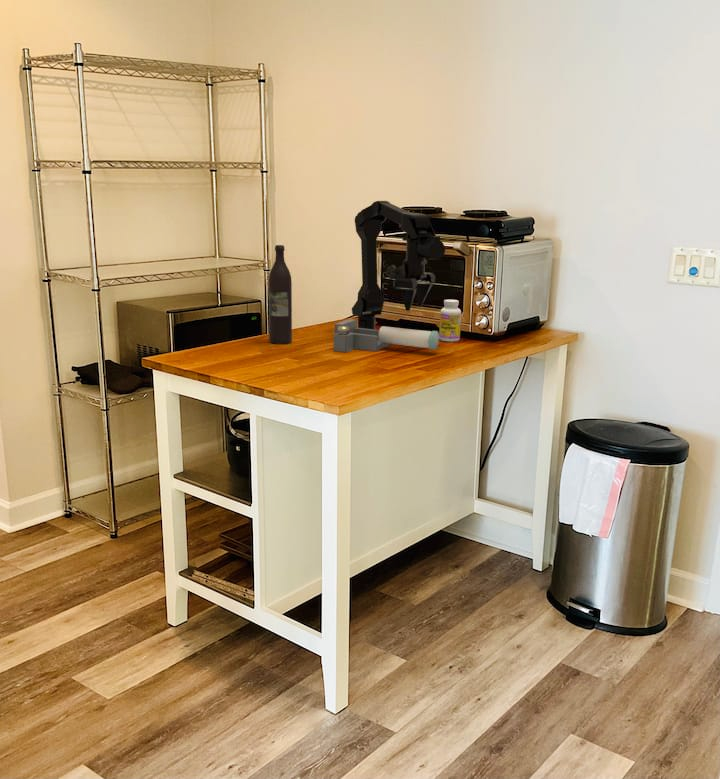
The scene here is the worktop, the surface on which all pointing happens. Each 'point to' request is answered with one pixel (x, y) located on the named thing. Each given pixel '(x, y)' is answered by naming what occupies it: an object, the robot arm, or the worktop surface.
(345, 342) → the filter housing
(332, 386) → the worktop surface
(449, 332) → the supplement bottle
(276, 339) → the wine bottle
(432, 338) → the cylinder
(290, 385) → the worktop surface
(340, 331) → the release plunger
